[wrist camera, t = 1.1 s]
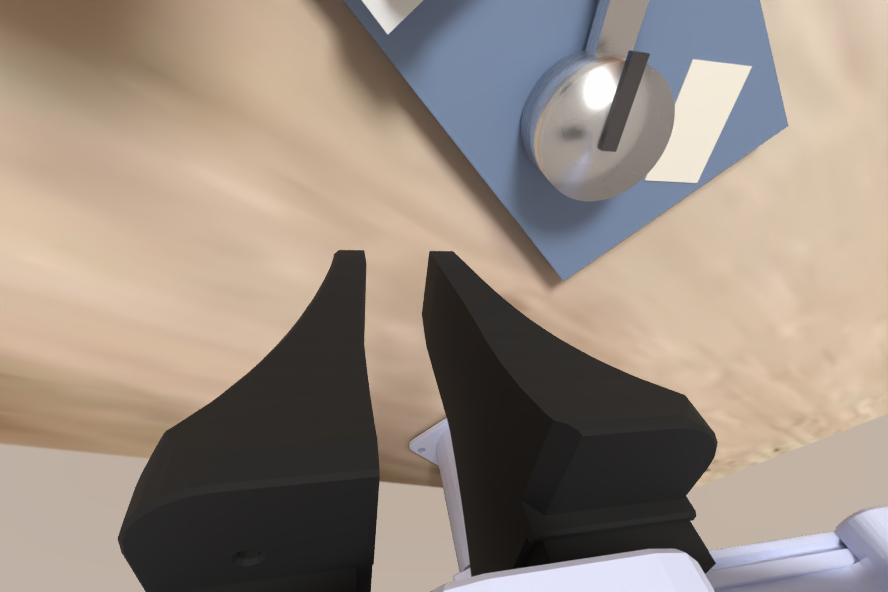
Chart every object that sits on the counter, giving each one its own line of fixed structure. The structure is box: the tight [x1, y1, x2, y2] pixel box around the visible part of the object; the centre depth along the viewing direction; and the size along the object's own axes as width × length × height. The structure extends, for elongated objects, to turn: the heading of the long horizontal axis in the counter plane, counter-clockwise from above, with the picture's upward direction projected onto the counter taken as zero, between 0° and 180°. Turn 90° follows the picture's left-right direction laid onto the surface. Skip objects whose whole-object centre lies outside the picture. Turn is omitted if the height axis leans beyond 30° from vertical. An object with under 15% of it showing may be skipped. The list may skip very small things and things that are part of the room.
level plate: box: [343, 0, 788, 281], centre depth 16 cm, size 18×12×4 cm, turn 39°
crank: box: [521, 0, 675, 201], centre depth 15 cm, size 9×5×4 cm, turn 174°
